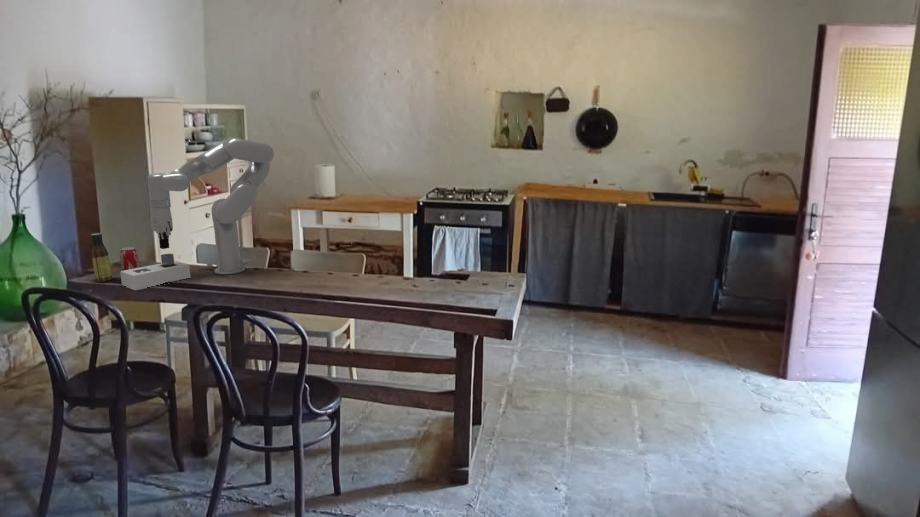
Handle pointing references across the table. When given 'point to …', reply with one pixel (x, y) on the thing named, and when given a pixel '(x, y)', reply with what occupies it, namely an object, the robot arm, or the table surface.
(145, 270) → the outer pin
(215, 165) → the robot arm
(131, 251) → the soda can
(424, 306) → the table surface
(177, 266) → the pin block
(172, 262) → the inner pin
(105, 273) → the sauce bottle
